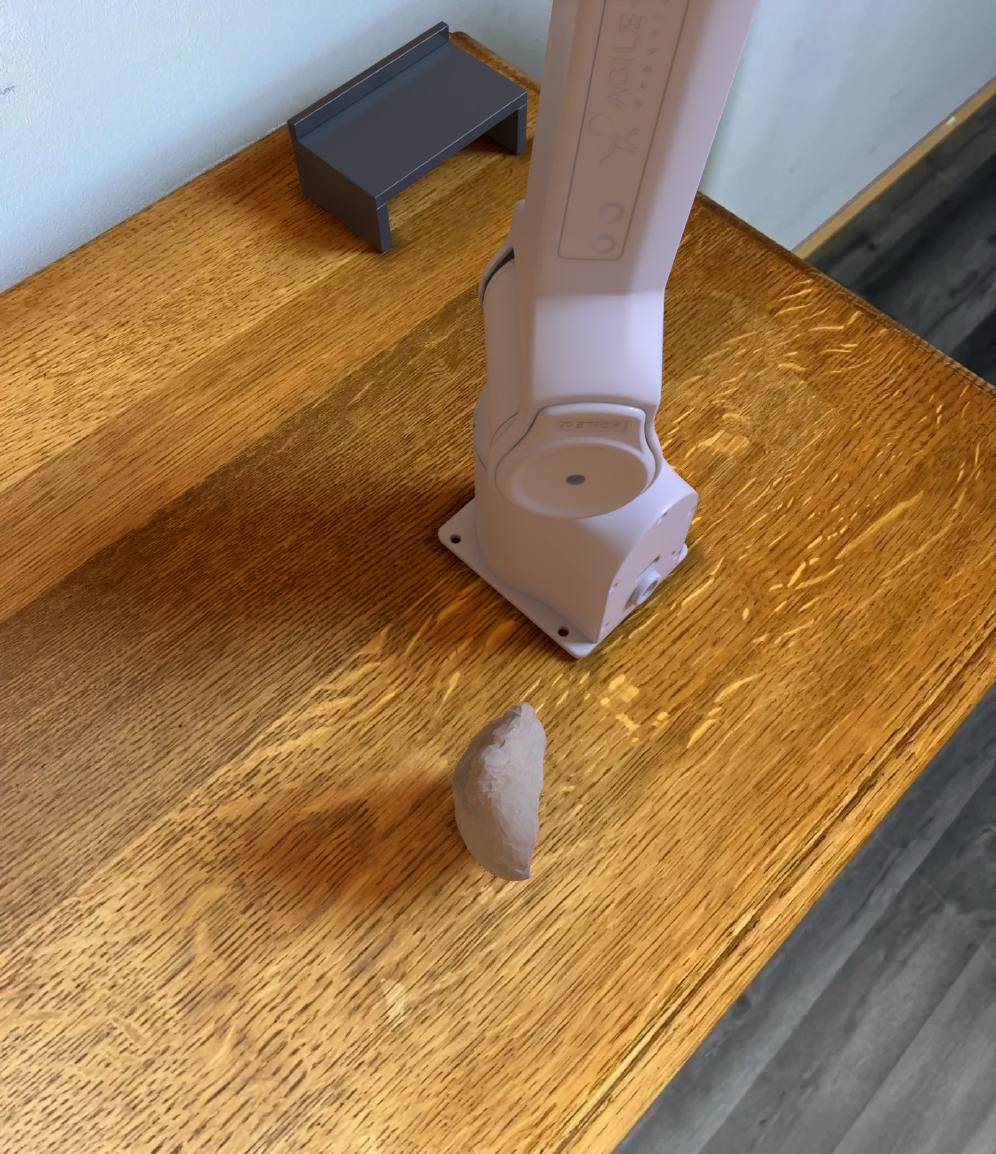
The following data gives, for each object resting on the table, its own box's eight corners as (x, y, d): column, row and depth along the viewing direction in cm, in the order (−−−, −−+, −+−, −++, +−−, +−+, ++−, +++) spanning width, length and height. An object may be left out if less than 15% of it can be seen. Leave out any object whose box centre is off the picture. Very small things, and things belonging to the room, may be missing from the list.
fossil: (538, 901, 41) (550, 849, 32) (453, 899, 41) (441, 847, 32) (538, 762, 44) (548, 679, 35) (458, 761, 44) (448, 678, 35)
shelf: (526, 148, 61) (528, 75, 57) (382, 253, 57) (372, 183, 53) (445, 95, 64) (441, 19, 59) (302, 192, 60) (286, 120, 55)
